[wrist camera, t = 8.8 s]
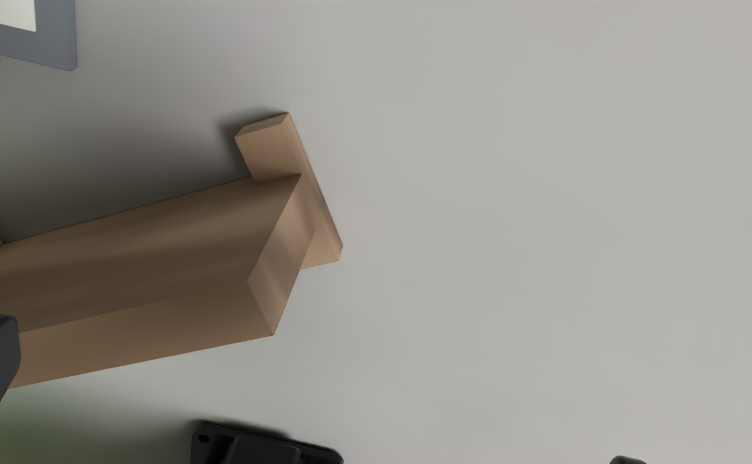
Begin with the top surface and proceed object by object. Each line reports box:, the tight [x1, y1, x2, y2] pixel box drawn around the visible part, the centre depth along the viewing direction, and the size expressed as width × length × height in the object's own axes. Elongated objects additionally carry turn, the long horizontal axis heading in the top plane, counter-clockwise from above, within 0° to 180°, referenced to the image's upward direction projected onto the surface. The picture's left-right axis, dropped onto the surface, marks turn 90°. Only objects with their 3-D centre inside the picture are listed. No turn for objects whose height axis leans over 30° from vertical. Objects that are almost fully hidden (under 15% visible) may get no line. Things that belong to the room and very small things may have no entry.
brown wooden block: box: [0, 113, 343, 389], centre depth 20 cm, size 5×14×7 cm, turn 109°
